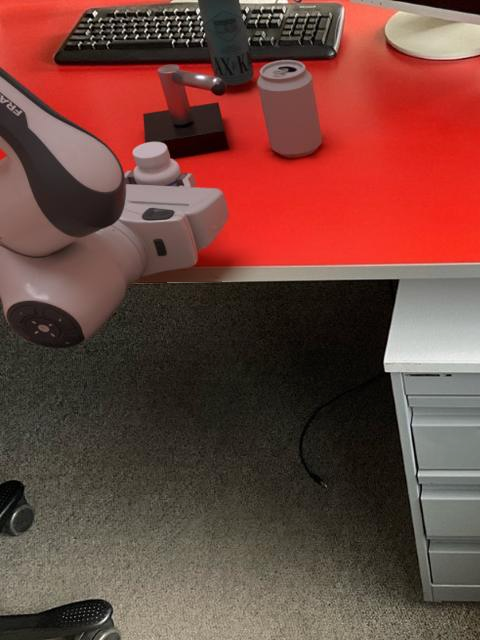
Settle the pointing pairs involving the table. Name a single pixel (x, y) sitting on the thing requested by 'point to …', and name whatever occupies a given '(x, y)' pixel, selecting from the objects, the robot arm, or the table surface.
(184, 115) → the spout
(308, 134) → the can
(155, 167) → the pill bottle
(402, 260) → the table surface
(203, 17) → the beverage bottle
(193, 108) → the tap base
